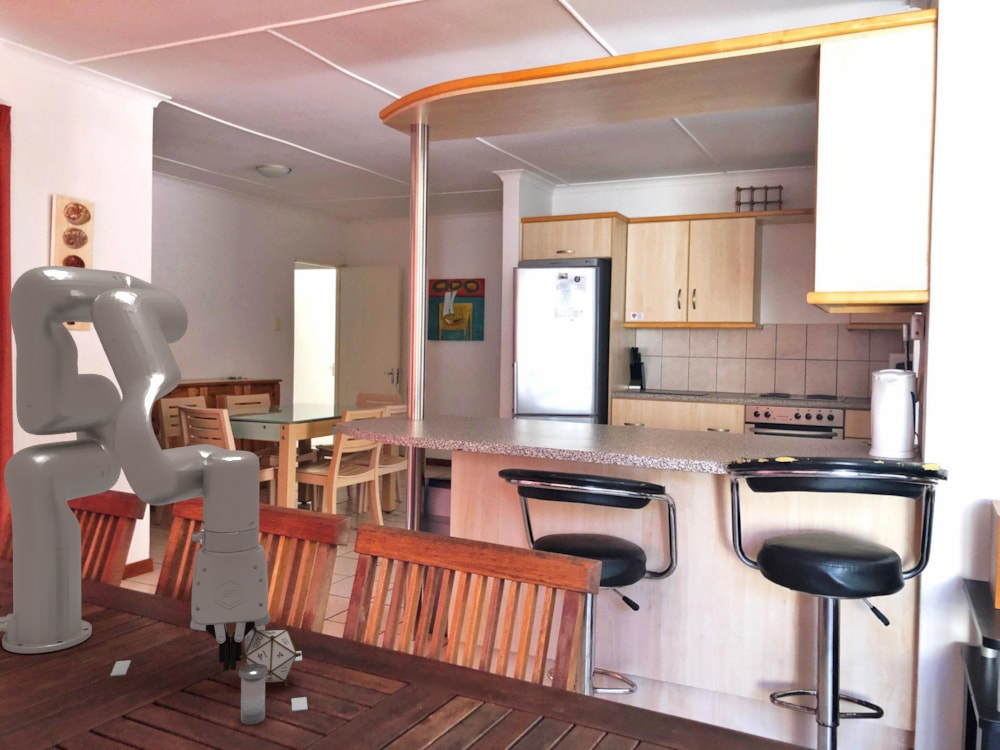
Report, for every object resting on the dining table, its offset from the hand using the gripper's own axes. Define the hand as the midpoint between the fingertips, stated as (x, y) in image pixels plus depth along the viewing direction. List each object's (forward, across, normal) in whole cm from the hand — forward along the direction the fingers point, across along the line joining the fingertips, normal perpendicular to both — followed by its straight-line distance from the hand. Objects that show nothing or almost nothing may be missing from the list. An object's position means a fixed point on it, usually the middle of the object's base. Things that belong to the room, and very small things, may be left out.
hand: (230, 666), depth 115 cm
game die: (+3, +5, -1) cm, 6 cm away
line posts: (+3, +3, 0) cm, 4 cm away
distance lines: (+3, -3, +1) cm, 4 cm away
